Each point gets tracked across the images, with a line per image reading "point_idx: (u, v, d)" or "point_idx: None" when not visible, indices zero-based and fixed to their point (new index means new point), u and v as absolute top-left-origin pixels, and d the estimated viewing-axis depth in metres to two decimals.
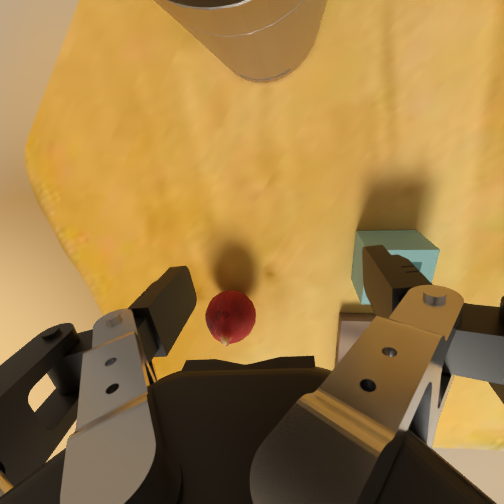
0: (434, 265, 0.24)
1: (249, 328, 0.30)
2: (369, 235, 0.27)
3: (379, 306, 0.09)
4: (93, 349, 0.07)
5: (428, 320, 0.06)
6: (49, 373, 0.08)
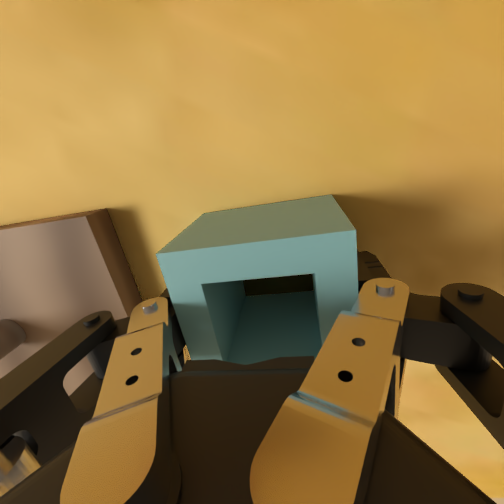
0: None
1: None
2: None
3: None
4: (124, 336, 0.07)
5: (385, 309, 0.07)
6: (90, 358, 0.09)
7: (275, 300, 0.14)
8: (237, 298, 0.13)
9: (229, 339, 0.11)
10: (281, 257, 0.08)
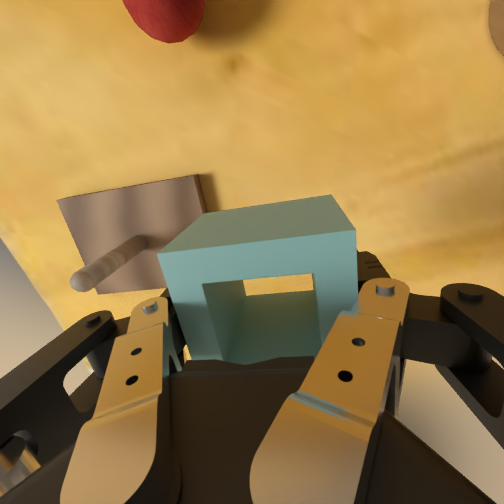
0: None
1: (159, 24, 0.19)
2: None
3: None
4: (124, 336, 0.07)
5: (384, 309, 0.07)
6: (90, 358, 0.09)
7: (275, 300, 0.14)
8: (237, 298, 0.13)
9: (230, 338, 0.11)
10: (281, 257, 0.08)
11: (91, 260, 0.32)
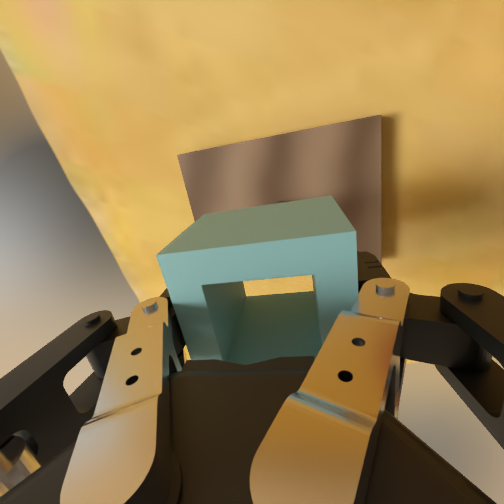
0: None
1: None
2: None
3: None
4: (124, 336, 0.07)
5: (385, 309, 0.07)
6: (90, 358, 0.09)
7: (275, 301, 0.14)
8: (237, 299, 0.13)
9: (230, 340, 0.11)
10: (281, 258, 0.08)
11: None
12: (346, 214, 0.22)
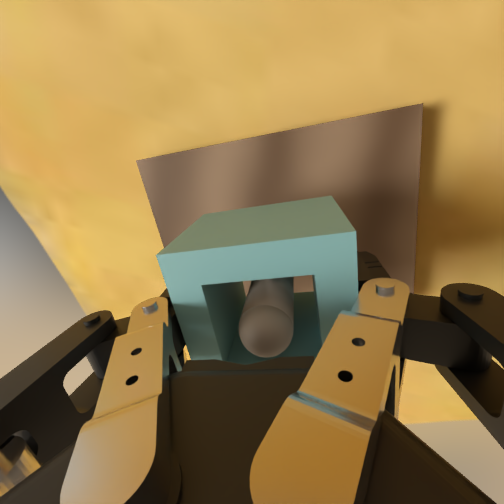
0: None
1: None
2: None
3: None
4: (124, 336, 0.07)
5: (385, 309, 0.07)
6: (90, 358, 0.09)
7: None
8: (237, 299, 0.13)
9: (230, 340, 0.11)
10: (281, 258, 0.08)
11: None
12: (367, 242, 0.16)
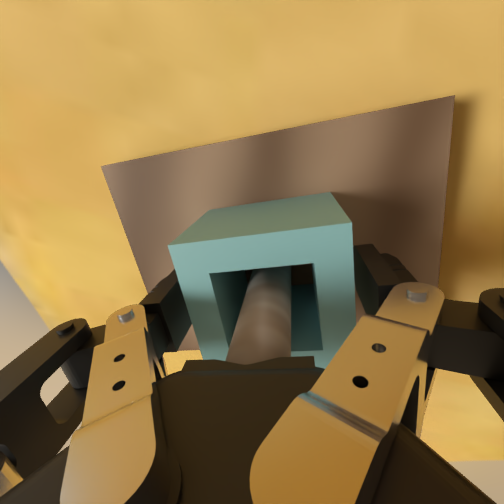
0: None
1: None
2: None
3: (368, 303, 0.10)
4: (103, 344, 0.07)
5: (413, 315, 0.06)
6: (63, 367, 0.08)
7: None
8: (241, 290, 0.13)
9: (234, 327, 0.12)
10: (283, 248, 0.09)
11: None
12: None
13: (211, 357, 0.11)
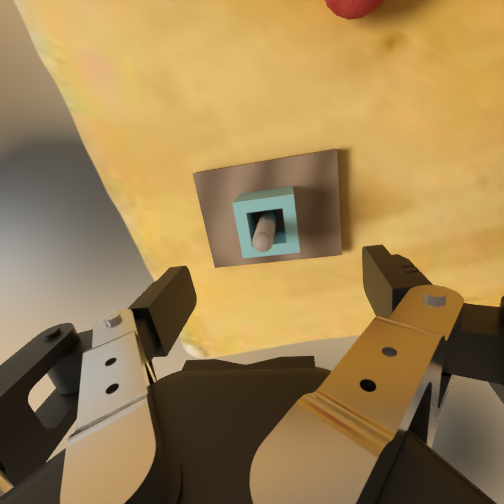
0: (284, 253, 0.28)
1: None
2: None
3: (379, 306, 0.09)
4: (93, 349, 0.07)
5: (429, 320, 0.06)
6: (49, 373, 0.08)
7: None
8: (254, 228, 0.31)
9: None
10: (272, 203, 0.26)
11: (215, 233, 0.33)
12: (315, 218, 0.31)
13: (244, 248, 0.28)
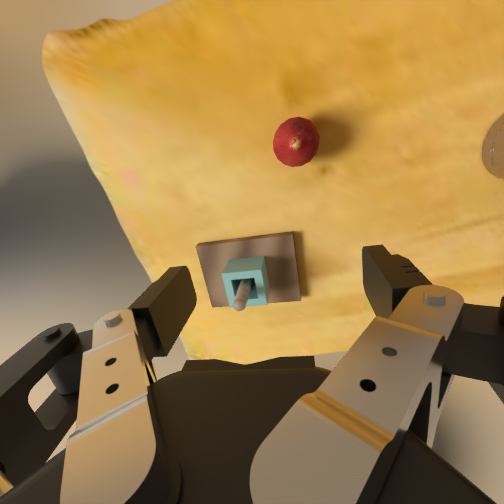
0: (257, 304, 0.41)
1: (295, 163, 0.34)
2: (264, 265, 0.42)
3: (379, 306, 0.09)
4: (93, 349, 0.07)
5: (429, 320, 0.06)
6: (49, 373, 0.08)
7: None
8: (238, 284, 0.44)
9: None
10: (247, 274, 0.39)
11: (212, 284, 0.47)
12: (281, 276, 0.44)
13: (230, 301, 0.42)
